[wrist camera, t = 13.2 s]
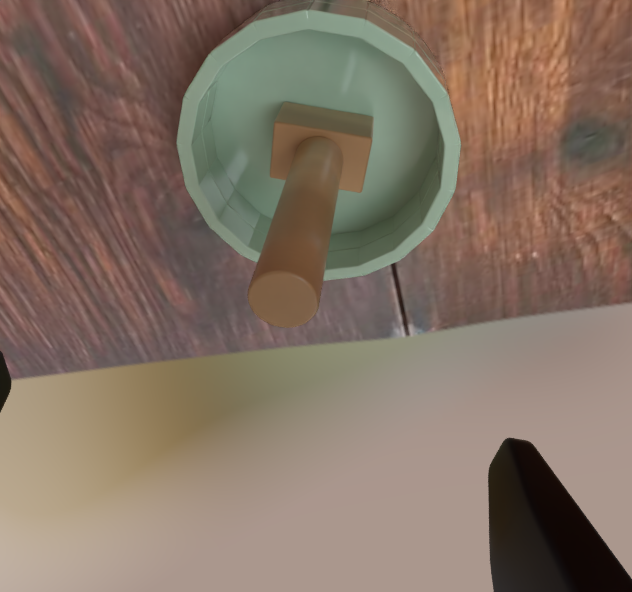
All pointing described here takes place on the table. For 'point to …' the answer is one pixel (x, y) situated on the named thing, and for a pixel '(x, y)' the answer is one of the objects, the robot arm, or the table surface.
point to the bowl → (331, 93)
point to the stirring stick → (306, 206)
